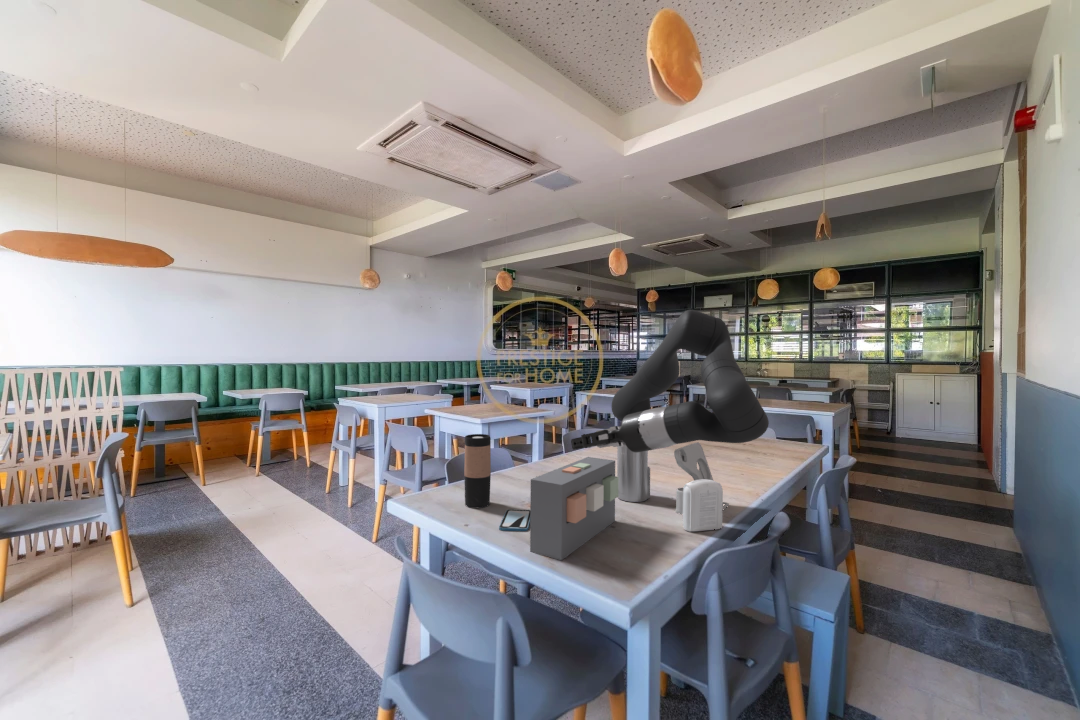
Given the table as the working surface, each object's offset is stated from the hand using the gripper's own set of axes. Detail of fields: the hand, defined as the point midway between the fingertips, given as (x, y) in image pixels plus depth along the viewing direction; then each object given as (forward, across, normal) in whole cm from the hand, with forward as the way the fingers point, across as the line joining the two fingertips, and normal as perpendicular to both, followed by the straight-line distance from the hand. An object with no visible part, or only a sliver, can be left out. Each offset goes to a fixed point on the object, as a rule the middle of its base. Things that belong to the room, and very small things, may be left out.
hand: (585, 443), depth 95 cm
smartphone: (+33, -8, +16) cm, 38 cm away
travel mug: (+50, -10, +10) cm, 52 cm away
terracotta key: (+9, -3, +15) cm, 18 cm away
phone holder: (+2, -51, +22) cm, 56 cm away
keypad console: (+16, -11, +20) cm, 28 cm away
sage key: (+12, -20, +13) cm, 27 cm away
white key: (+10, -11, +14) cm, 21 cm away
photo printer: (-4, -37, +24) cm, 44 cm away
